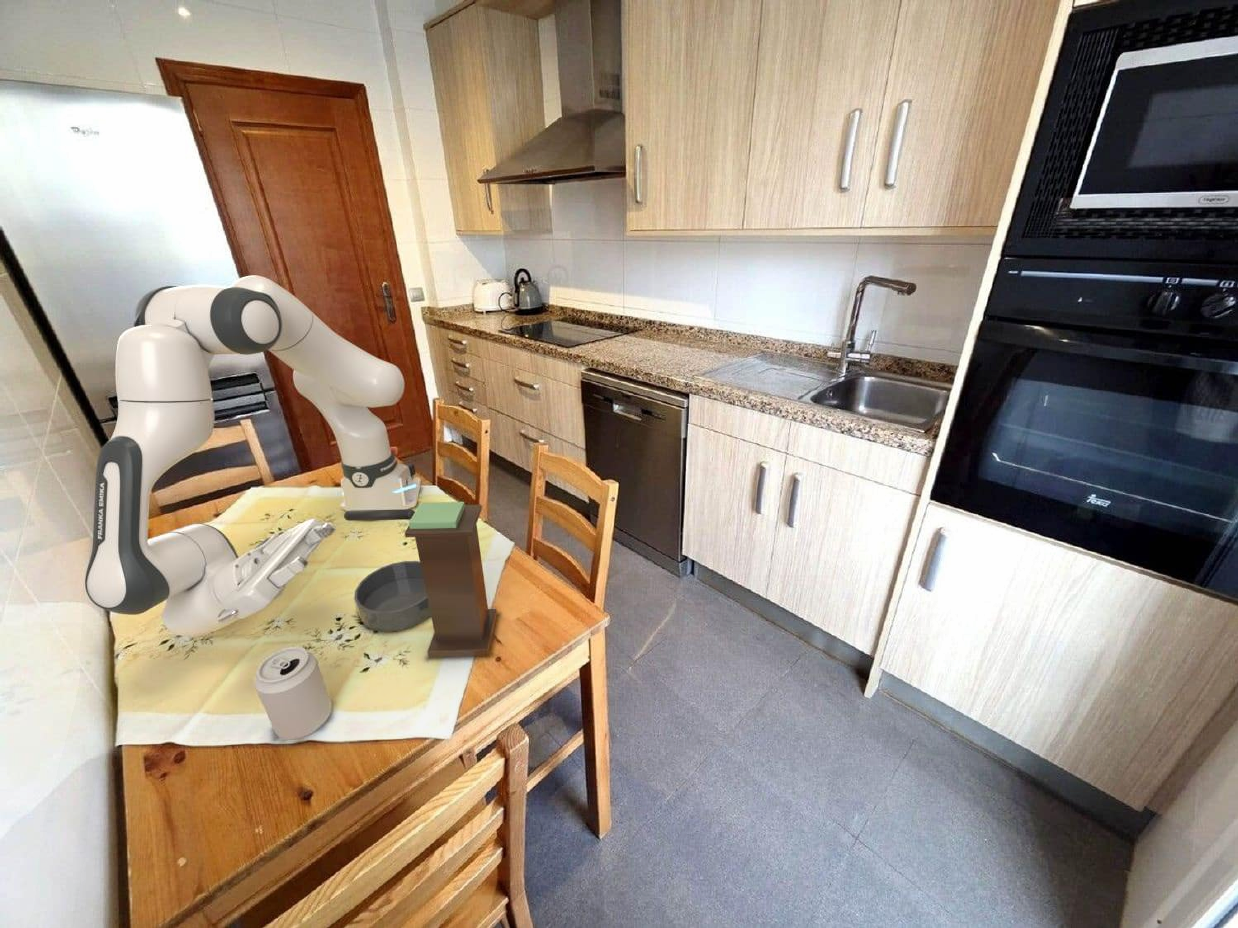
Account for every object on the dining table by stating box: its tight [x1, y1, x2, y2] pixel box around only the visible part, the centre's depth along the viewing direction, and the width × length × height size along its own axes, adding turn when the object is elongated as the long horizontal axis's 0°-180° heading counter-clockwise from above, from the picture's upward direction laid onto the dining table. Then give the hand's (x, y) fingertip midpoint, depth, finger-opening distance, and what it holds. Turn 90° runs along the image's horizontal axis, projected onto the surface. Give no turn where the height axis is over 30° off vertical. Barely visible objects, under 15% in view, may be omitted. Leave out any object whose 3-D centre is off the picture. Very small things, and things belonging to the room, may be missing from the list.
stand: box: [404, 504, 498, 659], centre depth 85 cm, size 10×10×25 cm
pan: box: [353, 560, 431, 633], centre depth 97 cm, size 15×15×4 cm
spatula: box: [343, 501, 466, 529], centre depth 79 cm, size 18×6×2 cm, turn 93°
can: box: [253, 646, 333, 740], centre depth 72 cm, size 8×8×12 cm
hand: (317, 543), depth 80 cm, fingers open, 8 cm apart
